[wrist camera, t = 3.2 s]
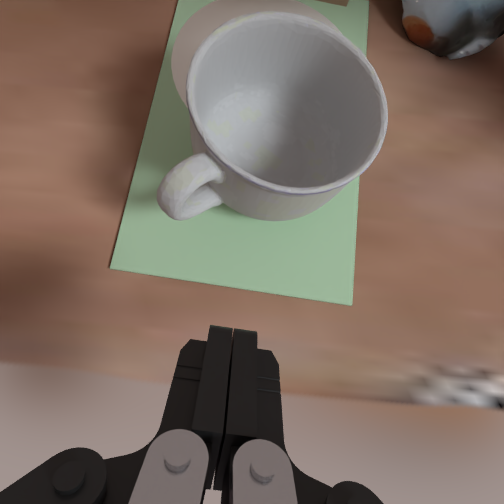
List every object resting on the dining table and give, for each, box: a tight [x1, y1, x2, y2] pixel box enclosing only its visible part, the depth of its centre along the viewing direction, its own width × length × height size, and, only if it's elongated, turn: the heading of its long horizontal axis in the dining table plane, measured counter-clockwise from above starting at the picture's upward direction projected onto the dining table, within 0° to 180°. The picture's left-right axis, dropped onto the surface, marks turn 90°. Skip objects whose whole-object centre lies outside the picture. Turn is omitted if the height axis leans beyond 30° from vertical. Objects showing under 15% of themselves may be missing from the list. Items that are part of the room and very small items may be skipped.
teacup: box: [157, 11, 388, 221], centre depth 22 cm, size 14×11×8 cm
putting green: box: [110, 0, 369, 306], centre depth 26 cm, size 16×27×2 cm, turn 172°
